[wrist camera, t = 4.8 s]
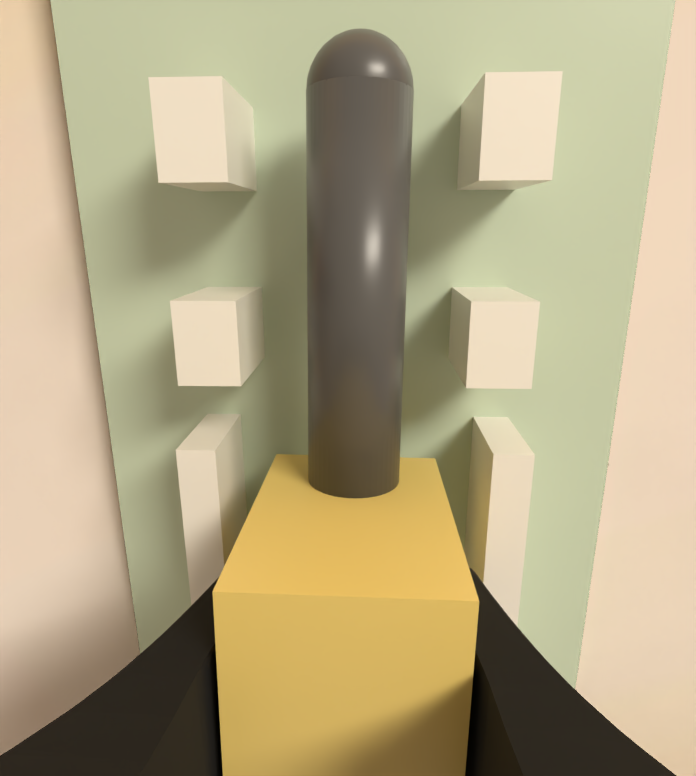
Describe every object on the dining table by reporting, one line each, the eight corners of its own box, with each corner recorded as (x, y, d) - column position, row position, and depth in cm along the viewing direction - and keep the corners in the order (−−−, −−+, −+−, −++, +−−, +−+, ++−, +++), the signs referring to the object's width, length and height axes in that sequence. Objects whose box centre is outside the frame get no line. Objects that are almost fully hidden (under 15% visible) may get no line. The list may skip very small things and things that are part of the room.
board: (566, 675, 15) (611, 778, 13) (151, 663, 16) (103, 759, 13) (691, -225, 10) (827, -415, 7) (38, -201, 10) (-91, -368, 7)
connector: (425, 634, 13) (457, 862, 8) (280, 628, 13) (227, 850, 8) (457, 57, 10) (539, -127, 5) (267, 57, 10) (172, -123, 5)
